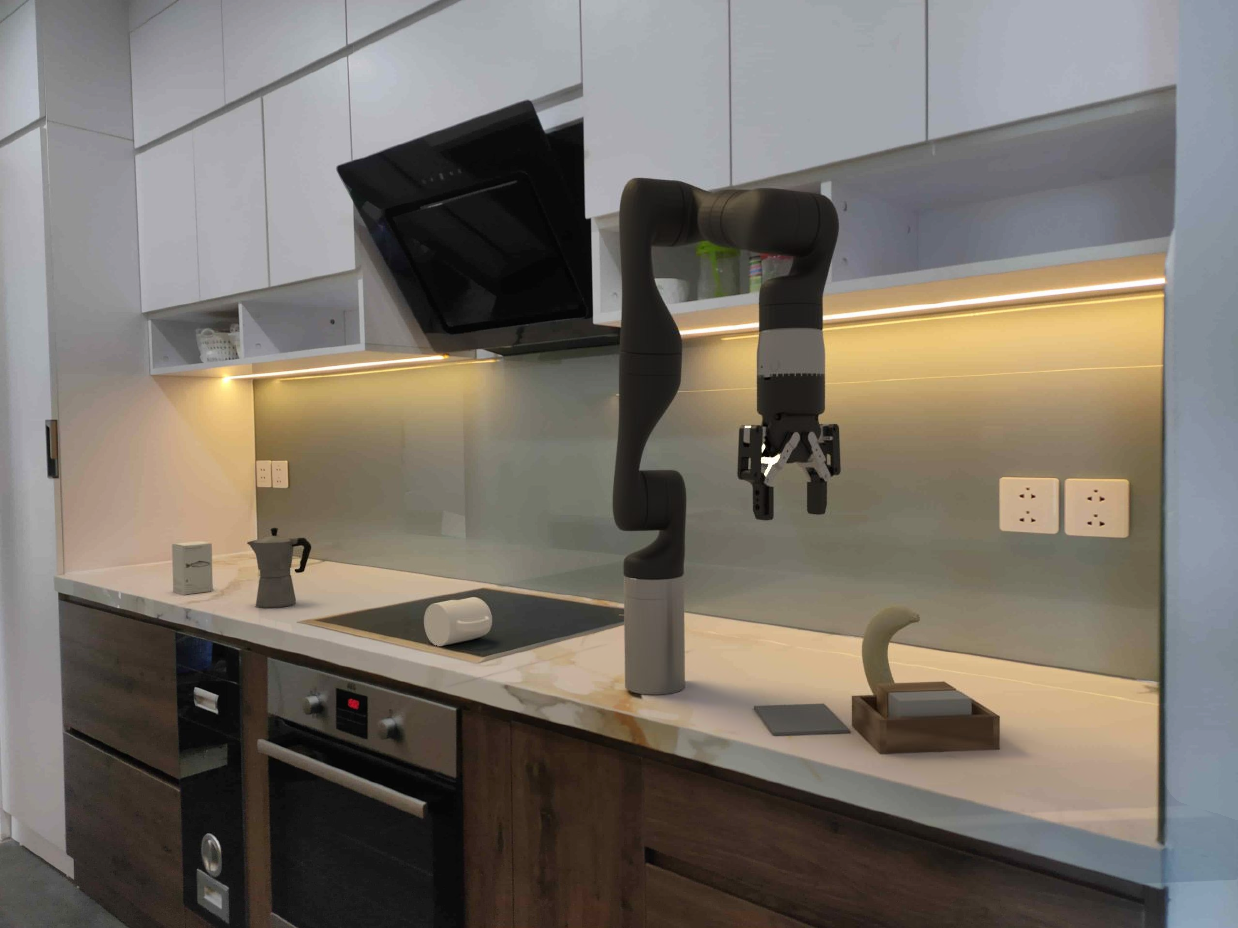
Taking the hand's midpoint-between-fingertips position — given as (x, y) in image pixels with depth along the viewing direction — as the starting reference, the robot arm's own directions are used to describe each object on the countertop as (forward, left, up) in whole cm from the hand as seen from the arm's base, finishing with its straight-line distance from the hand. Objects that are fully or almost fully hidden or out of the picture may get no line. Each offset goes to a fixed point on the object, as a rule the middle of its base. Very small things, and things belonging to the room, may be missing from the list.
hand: (790, 516), depth 98 cm
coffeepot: (-112, -92, -29) cm, 148 cm away
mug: (-68, -45, -29) cm, 87 cm away
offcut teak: (-11, +19, -29) cm, 37 cm away
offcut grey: (-7, +19, -29) cm, 36 cm away
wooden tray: (-9, +19, -29) cm, 36 cm away
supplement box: (-132, -120, -29) cm, 181 cm away
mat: (-17, +6, -29) cm, 34 cm away
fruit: (-19, +19, -29) cm, 40 cm away
